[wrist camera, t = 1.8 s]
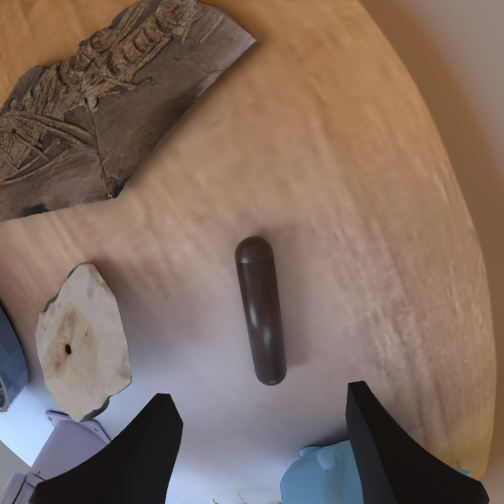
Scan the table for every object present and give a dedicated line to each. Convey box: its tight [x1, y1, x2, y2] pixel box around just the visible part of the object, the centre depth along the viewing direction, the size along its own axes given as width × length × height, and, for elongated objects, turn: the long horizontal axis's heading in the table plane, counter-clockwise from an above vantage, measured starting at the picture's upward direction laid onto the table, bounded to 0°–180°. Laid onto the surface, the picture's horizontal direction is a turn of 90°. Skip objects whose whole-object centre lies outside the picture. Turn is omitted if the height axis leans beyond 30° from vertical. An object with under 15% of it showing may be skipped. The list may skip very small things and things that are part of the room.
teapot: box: [280, 440, 471, 504], centre depth 18 cm, size 15×14×11 cm
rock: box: [35, 263, 132, 423], centre depth 19 cm, size 11×4×12 cm
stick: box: [235, 237, 287, 386], centre depth 18 cm, size 10×2×2 cm, turn 8°
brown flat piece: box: [0, 0, 264, 222], centre depth 15 cm, size 26×11×1 cm, turn 110°
